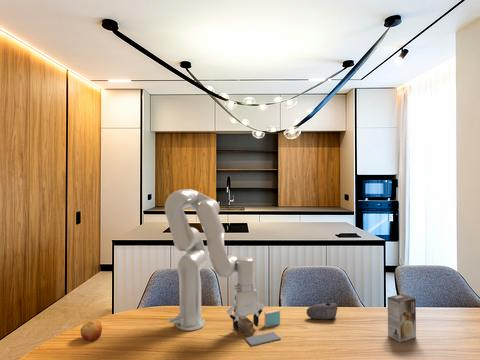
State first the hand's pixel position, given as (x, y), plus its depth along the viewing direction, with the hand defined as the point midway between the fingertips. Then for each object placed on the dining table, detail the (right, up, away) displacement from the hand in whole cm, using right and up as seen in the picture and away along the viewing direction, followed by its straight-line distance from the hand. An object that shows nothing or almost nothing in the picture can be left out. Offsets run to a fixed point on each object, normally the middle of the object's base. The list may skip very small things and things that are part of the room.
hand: (246, 327), depth 140 cm
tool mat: (+7, -1, -8) cm, 10 cm away
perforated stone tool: (+36, -2, +12) cm, 38 cm away
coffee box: (+64, -2, -6) cm, 64 cm away
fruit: (-63, -2, -7) cm, 63 cm away
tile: (+12, -1, +5) cm, 13 cm away
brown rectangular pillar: (0, -2, 0) cm, 2 cm away
